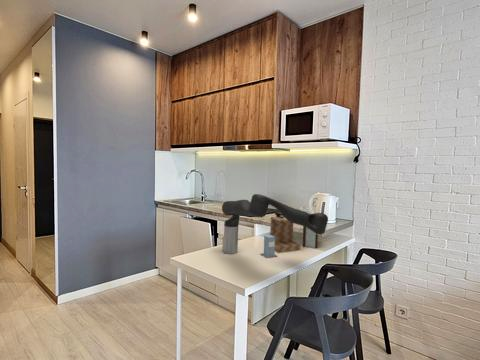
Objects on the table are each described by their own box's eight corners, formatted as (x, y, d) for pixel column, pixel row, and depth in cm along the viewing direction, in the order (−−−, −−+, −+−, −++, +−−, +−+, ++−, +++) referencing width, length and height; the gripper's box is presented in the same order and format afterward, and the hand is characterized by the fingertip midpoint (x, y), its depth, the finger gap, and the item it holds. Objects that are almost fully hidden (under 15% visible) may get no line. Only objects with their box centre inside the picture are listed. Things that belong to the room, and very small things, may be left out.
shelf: (278, 252, 183) (279, 220, 182) (269, 248, 193) (270, 217, 192) (300, 250, 191) (302, 218, 190) (290, 245, 201) (292, 216, 200)
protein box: (316, 242, 211) (317, 222, 211) (317, 248, 196) (318, 226, 196) (302, 241, 214) (303, 221, 213) (302, 247, 199) (303, 225, 198)
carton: (267, 256, 173) (268, 237, 173) (263, 254, 178) (264, 235, 177) (274, 255, 176) (275, 236, 175) (270, 253, 180) (271, 234, 180)
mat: (266, 258, 172) (266, 257, 172) (260, 254, 179) (260, 253, 179) (277, 256, 175) (277, 256, 175) (270, 252, 182) (270, 252, 182)
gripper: (309, 210, 157) (291, 206, 171) (288, 211, 151) (271, 207, 165) (308, 223, 157) (290, 218, 172) (287, 225, 151) (271, 219, 165)
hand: (281, 212), depth 168 cm, fingers open, 8 cm apart
